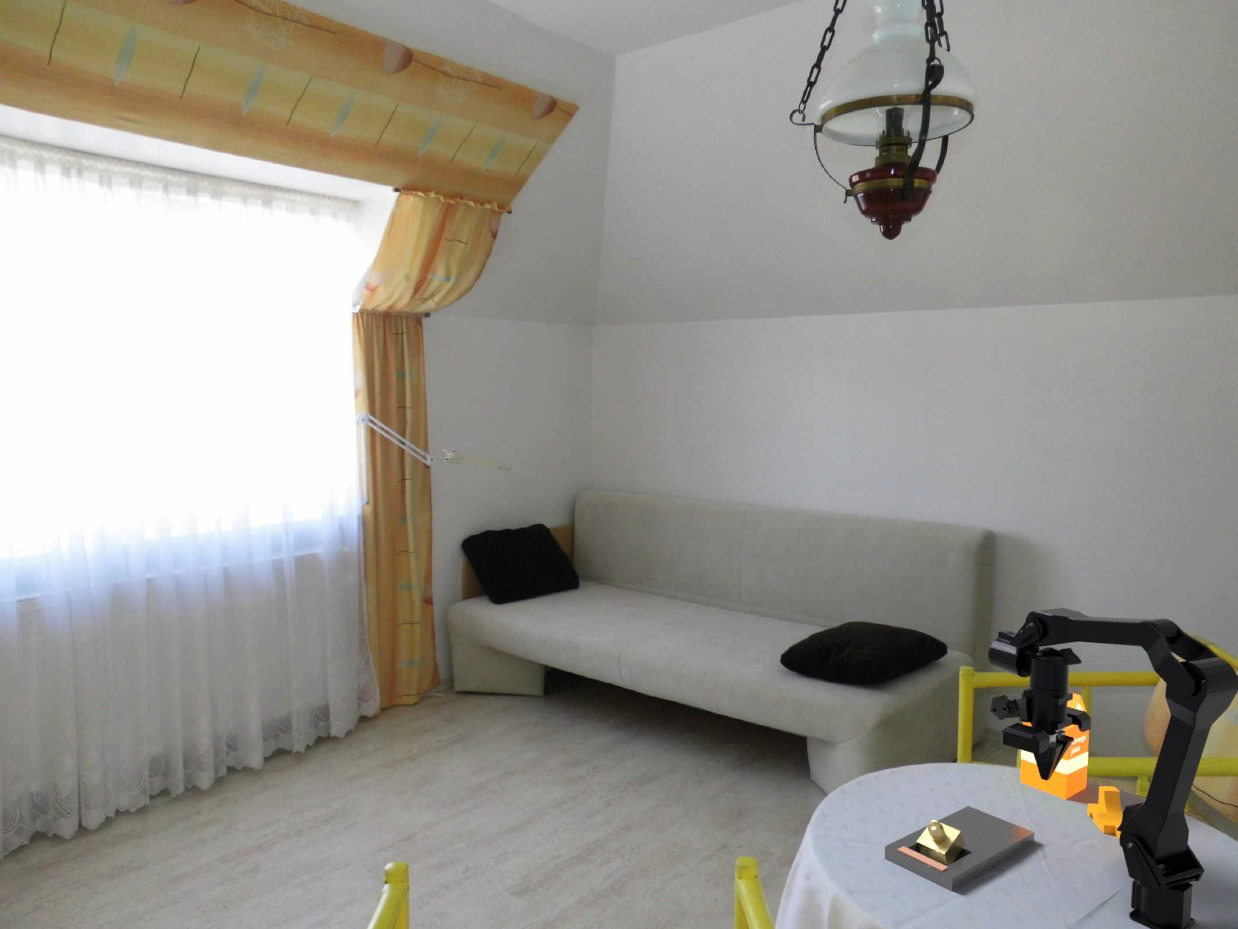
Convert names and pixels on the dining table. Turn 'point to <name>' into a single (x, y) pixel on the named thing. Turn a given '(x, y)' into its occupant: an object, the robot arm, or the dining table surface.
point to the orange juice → (1061, 763)
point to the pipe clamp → (1107, 810)
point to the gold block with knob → (941, 842)
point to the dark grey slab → (980, 853)
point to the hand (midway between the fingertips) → (1045, 779)
